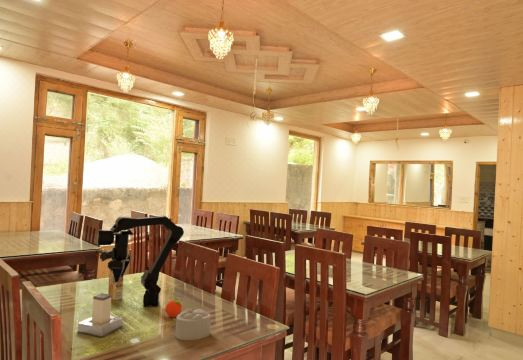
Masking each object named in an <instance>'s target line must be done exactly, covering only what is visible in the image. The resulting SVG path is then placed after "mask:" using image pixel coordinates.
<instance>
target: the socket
mask: <svg viewBox="0 0 523 360" xmlns="http://www.w3.org/2000/svg"><path fill="white" fill-rule="evenodd" d="M122 327H123V317H118V316H113V315H110V321H109V322H107V323H104V324H102V325H100V324H95V323H92V316H91V317H89V318H86V319H84V320H82V321H79V322H77V333H79V334H83V335H87V336H91V337H92V336H93V337H96V338H104V337H106V336H107V335H109V334H111V333H113V332H115V331H117V330H120V328H122Z"/></svg>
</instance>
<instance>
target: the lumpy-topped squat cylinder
mask: <svg viewBox="0 0 523 360" xmlns="http://www.w3.org/2000/svg"><path fill="white" fill-rule="evenodd" d="M211 321H212V314H210V313H208V312H207V311H205V310H204V309H202V308H196V309H192V308H186V309H185V310H183V311H181V313H180V314H179V315H178V316H176V318H175V332H174V338H176V339H177V340H180V341H182V340H183V341H194V340H199V339H203V338H205V337H209V336H210V335H211Z"/></svg>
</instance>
